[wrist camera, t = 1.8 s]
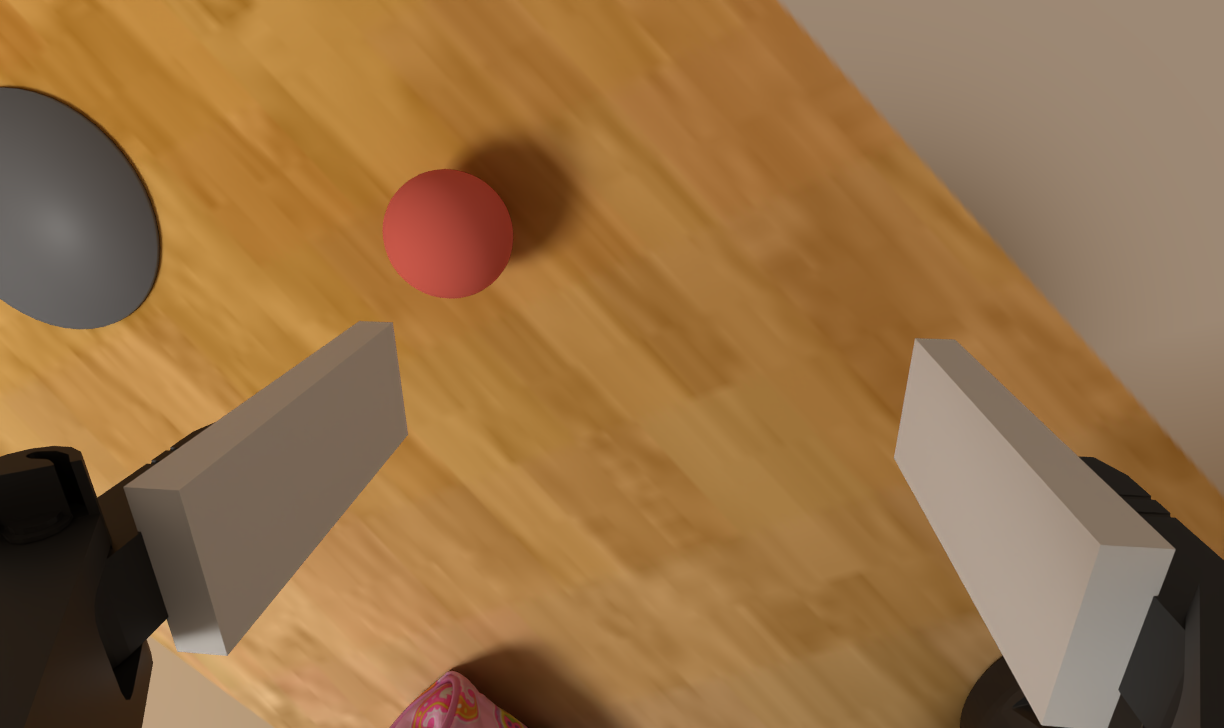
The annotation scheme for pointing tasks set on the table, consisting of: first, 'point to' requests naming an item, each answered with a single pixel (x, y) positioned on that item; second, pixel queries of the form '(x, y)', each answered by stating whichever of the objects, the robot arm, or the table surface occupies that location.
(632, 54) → the table surface
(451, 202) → the ball
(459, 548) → the table surface
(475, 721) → the pencil case
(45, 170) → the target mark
